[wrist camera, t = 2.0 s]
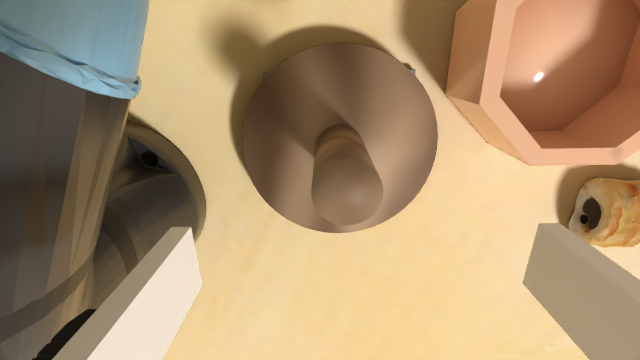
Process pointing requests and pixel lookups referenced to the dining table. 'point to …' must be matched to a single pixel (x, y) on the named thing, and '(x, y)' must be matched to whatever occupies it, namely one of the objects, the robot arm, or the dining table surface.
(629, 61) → the bowl
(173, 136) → the dining table surface
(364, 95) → the lid
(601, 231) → the pastry
